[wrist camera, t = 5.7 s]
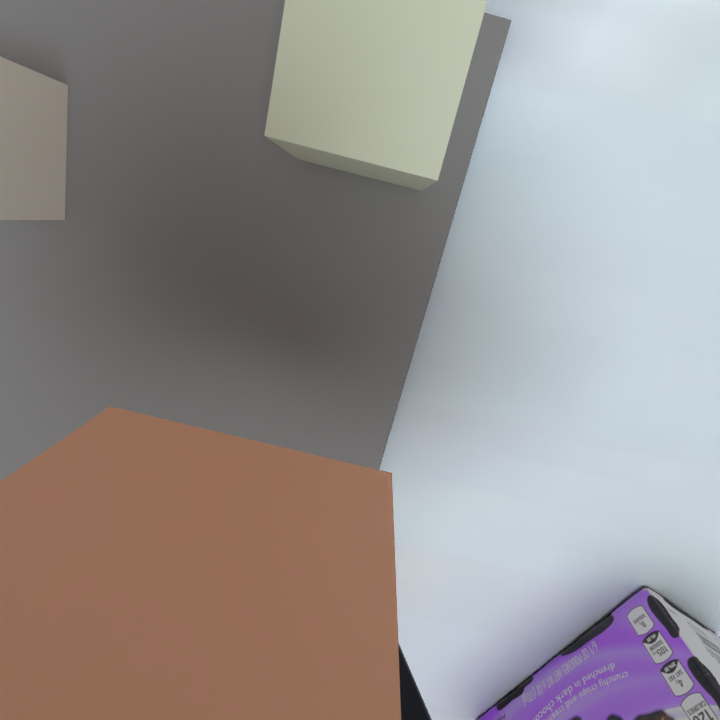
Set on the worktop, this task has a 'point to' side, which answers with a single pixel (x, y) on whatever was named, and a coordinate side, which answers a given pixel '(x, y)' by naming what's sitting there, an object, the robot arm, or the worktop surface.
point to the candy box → (627, 670)
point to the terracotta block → (195, 580)
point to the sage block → (372, 84)
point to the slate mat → (210, 241)
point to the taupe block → (32, 144)
